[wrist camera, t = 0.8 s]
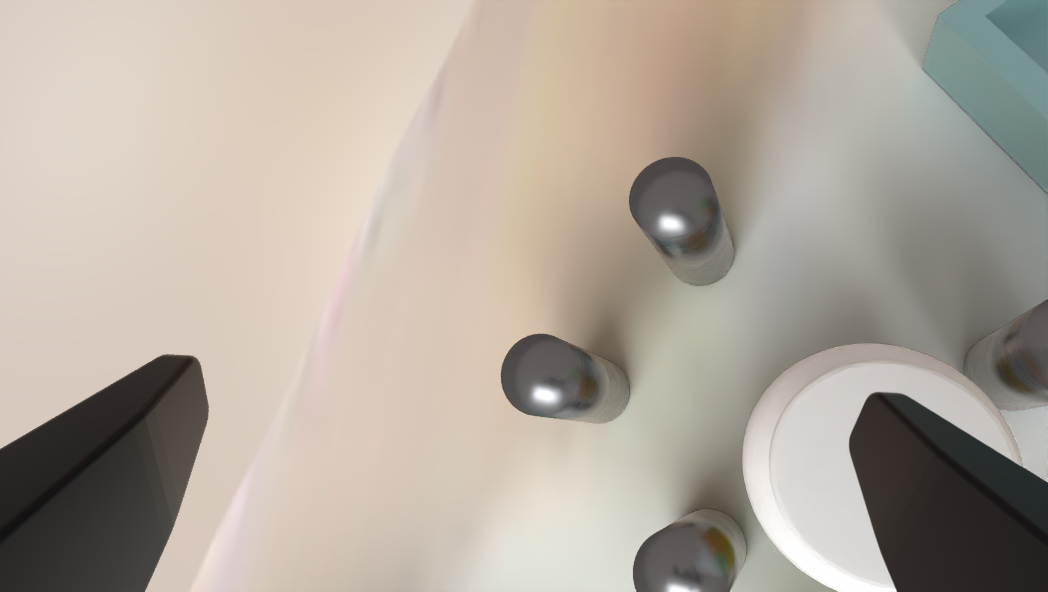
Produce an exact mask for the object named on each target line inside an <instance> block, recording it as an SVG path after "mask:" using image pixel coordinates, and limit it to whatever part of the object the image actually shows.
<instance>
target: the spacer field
mask: <svg viewBox="0 0 1048 592" xmlns="http://www.w3.org/2000/svg"><path fill="white" fill-rule="evenodd" d="M629 205H630V210H631V213H632V216H633V218H634V219H635V221H636V222H637V224H638V225H639V227H640V228H641V229H642V231H643V232H644V233H645V235H646V236H647V237H648V239H649V240H650V241H651V243H652V244H653V245H654V247H655V248H656V250H657V251H658V252H659V254H660V255H661V256H662V258H663V259H664V260H665V262H666V263H667V264H668V266H669V267H670V269H671V270H672V271H673V273H674V274H675V275H676V276H677V277H678V278H679V279H680V280H682V281H683V282H685V283H688V284H691V285H696V286H704V285H709V284H712V283H714V282H716V281H718V280H720V279H721V278H722V277H724V276H725V275H726V273H727V272H728V271H729V269H730V268H731V266H732V263H733V260H734V246H733V243H732V240H731V237H730V234H729V231H728V228H727V225H726V222H725V219H724V217H723V214H722V211H721V208H720V205H719V202H718V199H717V196H716V193H715V190H714V188H713V185H712V182H711V179H710V177H709V175H708V174H707V172H706V171H705V170H704V169H703V168H702V167H701V166H700V165H699V164H697V163H695V162H694V161H691V160H689V159H686V158H680V157H670V158H664V159H661V160H658V161H656V162H654V163H652V164H650V165H649V166H647V167H646V168H645V169H644V170H643V171H642V172H641V173H640V174H639V175H638V176H637V178H636V179H635V181H634V183H633V185H632V187H631V191H630V196H629ZM964 373H965V376H966V377H967V378H968V379H969V380H971V381H972V382H973V383H975V384H976V385H977V386H978V387H979V388H980V389H981V390H982V391H983V392H984V393H985V394H986V395H987V396H988V397H989V398H990V400H991V401H992V402H993V403H994V405H995V406H996V407H997V408H999V409H1004V410H1024V409H1029V408H1035V407H1041V406H1046V405H1048V300H1046V301H1044V302H1042V303H1041V304H1039V305H1038V306H1036V307H1034V308H1033V309H1031V310H1029V311H1028V312H1026V313H1024V314H1023V315H1021V316H1020V317H1018V318H1016V319H1015V320H1013V321H1011V322H1010V323H1008V324H1006V325H1005V326H1003V327H1002V328H1000V329H998V330H997V331H995V332H993V333H992V334H990V335H988V336H987V337H985V338H983V339H982V340H980V341H979V342H977V343H976V344H975V345H974V346H973V347H972V348H971V350H970V351H969V353H968V354H967V357H966V360H965V364H964ZM501 383H502V388H503V391H504V393H505V395H506V397H507V399H508V400H509V402H510V403H511V404H512V405H513V406H514V407H515V408H516V409H518V410H519V411H521V412H523V413H525V414H528V415H533V416H540V417H548V418H556V419H565V420H573V421H581V422H589V423H606V422H609V421H612V420H613V419H615V418H616V417H618V416H619V415H620V414H621V413H622V412H623V410H624V409H625V407H626V405H627V403H628V400H629V395H630V388H629V383H628V380H627V377H626V375H625V373H624V372H623V371H622V370H621V369H620V367H618V366H617V365H616V364H614V363H612V362H610V361H608V360H606V359H603V358H601V357H599V356H597V355H594V354H592V353H590V352H588V351H586V350H583V349H581V348H579V347H577V346H574V345H572V344H570V343H568V342H566V341H563V340H561V339H559V338H557V337H554V336H552V335H548V334H534V335H530V336H527V337H525V338H523V339H521V340H519V341H518V342H517V343H516V344H515V345H514V346H513V347H512V348H511V349H510V350H509V352H508V353H507V355H506V357H505V359H504V362H503V365H502V370H501ZM746 553H747V545H746V540H745V536H744V534H743V532H742V530H741V528H740V527H739V525H738V524H737V523H736V522H735V521H734V520H733V519H732V518H731V517H730V516H728V515H727V514H725V513H723V512H721V511H718V510H714V509H700V510H696V511H694V512H692V513H690V514H688V515H686V516H685V517H683V518H681V519H679V520H678V521H676V522H674V523H672V524H671V525H669V526H667V527H665V528H664V529H662V530H660V531H658V532H657V533H655V534H653V535H652V536H650V537H649V538H648V539H647V540H646V541H645V542H644V543H643V544H642V545H641V547H640V549H639V550H638V552H637V555H636V557H635V561H634V566H633V579H634V585H635V589H636V591H637V592H730V590H731V588H732V586H733V584H734V582H735V580H736V578H737V576H738V574H739V572H740V570H741V568H742V566H743V564H744V562H745V559H746Z"/></svg>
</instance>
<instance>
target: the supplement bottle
mask: <svg viewBox="0 0 1048 592" xmlns="http://www.w3.org/2000/svg"><path fill="white" fill-rule="evenodd" d="M874 392H892V393H902V394H905V395H907V396H908V397H910V398H912V399H913V400H915V401H917V402H918V403H920V404H921V405H923V406H925V407H926V408H928V409H929V410H931V411H933V412H934V413H936V414H938V415H939V416H941V417H942V418H944V419H946V420H947V421H949V422H951V423H952V424H954V425H955V426H957V427H959V428H960V429H962V430H963V431H965V432H967V433H968V434H970V435H972V436H973V437H975V438H976V439H978V440H980V441H981V442H983V443H984V444H986V445H988V446H989V447H991V448H993V449H994V450H996V451H997V452H999V453H1001V454H1002V455H1004V456H1005V457H1007V458H1009V459H1010V460H1012V461H1014V462H1015V463H1017V464H1018V465H1020V466H1022V461H1021V457H1020V453H1019V450H1018V447H1017V444H1016V442H1015V439H1014V437H1013V434H1012V432H1011V430H1010V428H1009V427H1008V425H1007V423H1006V421H1005V419H1004V418H1003V416H1002V415H1001V413H1000V411H999V410H998V409H997V407H996V406H995V405H994V403H993V402H992V401H991V400H990V398H989V397H988V396H987V395H986V394H985V393H984V392H983V391H982V390H981V389H980V388H979V387H978V386H977V385H976V384H975V383H973V382H972V381H971V380H969V379H968V378H967V377H966V376H964V375H963V374H962V373H960V372H959V371H957V370H956V369H954V368H952V367H951V366H949V365H947V364H946V363H944V362H942V361H940V360H938V359H936V358H934V357H931V356H928V355H926V354H923V353H920V352H917V351H914V350H911V349H907V348H903V347H899V346H894V345H887V344H876V343H862V344H851V345H843V346H838V347H834V348H830V349H826V350H824V351H821V352H818V353H815V354H813V355H811V356H809V357H807V358H805V359H803V360H801V361H799V362H797V363H796V364H794V365H792V366H791V367H789V368H788V369H787V370H786V371H784V372H783V373H782V374H781V375H780V376H779V377H777V378H776V379H775V380H774V381H773V382H772V384H771V385H770V386H769V387H768V388H767V389H766V390H765V392H764V393H763V394H762V396H761V398H760V399H759V401H758V402H757V404H756V406H755V408H754V409H753V412H752V414H751V417H750V419H749V422H748V425H747V428H746V432H745V436H744V443H743V453H742V464H743V476H744V481H745V485H746V490H747V493H748V497H749V500H750V502H751V505H752V508H753V510H754V513H755V515H756V517H757V519H758V521H759V522H760V524H761V526H762V528H763V529H764V531H765V532H766V534H767V535H768V536H769V538H770V539H771V540H772V542H773V543H774V544H775V546H776V547H777V548H778V549H779V550H780V551H781V552H782V553H783V554H784V555H785V556H786V557H787V558H788V559H789V560H790V561H791V562H792V563H793V564H794V565H795V566H797V567H798V568H799V569H800V570H801V571H803V572H804V573H806V574H807V575H809V576H810V577H812V578H813V579H815V580H816V581H818V582H820V583H822V584H824V585H826V586H827V587H830V588H832V589H834V590H836V591H838V592H897V591H896V589H895V586H894V584H893V582H892V579H891V577H890V575H889V572H888V570H887V567H886V565H885V562H884V560H883V557H882V555H881V552H880V549H879V546H878V543H877V540H876V538H875V535H874V531H873V528H872V525H871V521H870V518H869V515H868V512H867V508H866V505H865V502H864V499H863V495H862V492H861V489H860V485H859V482H858V479H857V476H856V472H855V469H854V466H853V463H852V459H851V456H850V452H849V438H850V434H851V432H852V430H853V427H854V425H855V423H856V421H857V418H858V416H859V414H860V412H861V409H862V407H863V405H864V403H865V401H866V399H867V397H868V396H869V395H870V394H872V393H874ZM1022 467H1023V466H1022Z"/></svg>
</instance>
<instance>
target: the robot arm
mask: <svg viewBox="0 0 1048 592" xmlns="http://www.w3.org/2000/svg"><path fill="white" fill-rule="evenodd" d="M208 408H209V406H208V400H207V395H206V390H205V384H204V379H203V374H202V369H201V365H200V362H199V361H198V359H197V358H195V357H194V356H189V355H169V354H167V355H162V356H160V357H157V358H156V359H154V360H152V361H151V362H149V363H147V364H146V365H144V366H142V367H140V368H139V369H137V370H135V371H134V372H132V373H130V374H128V375H127V376H125V377H123V378H121V379H120V380H118V381H116V382H115V383H113V384H111V385H109V386H108V387H106V388H104V389H103V390H101V391H99V392H97V393H96V394H94V395H92V396H90V397H89V398H87V399H85V400H84V401H82V402H80V403H78V404H77V405H75V406H74V407H72V408H70V409H68V410H67V411H65V412H63V413H61V414H60V415H58V416H56V417H55V418H53V419H51V420H49V421H48V422H46V423H44V424H42V425H41V426H39V427H37V428H36V429H34V430H32V431H30V432H29V433H27V434H25V435H23V436H22V437H20V438H18V439H17V440H15V441H13V442H11V443H10V444H8V445H6V446H5V447H3V448H1V449H0V592H145V590H146V588H147V586H148V583H149V582H150V579H151V577H152V575H153V573H154V570H155V568H156V566H157V564H158V562H159V559H160V557H161V555H162V553H163V550H164V548H165V546H166V544H167V541H168V539H169V537H170V534H171V532H172V529H173V527H174V524H175V521H176V518H177V516H178V513H179V510H180V506H181V503H182V500H183V497H184V494H185V491H186V488H187V484H188V481H189V478H190V475H191V472H192V468H193V465H194V462H195V459H196V456H197V453H198V450H199V446H200V443H201V440H202V437H203V433H204V431H205V427H206V424H207V420H208V412H209V409H208ZM849 452H850V456H851V459H852V463H853V466H854V469H855V472H856V476H857V479H858V482H859V485H860V489H861V492H862V495H863V499H864V502H865V505H866V508H867V512H868V515H869V518H870V521H871V525H872V528H873V531H874V535H875V538H876V540H877V543H878V546H879V549H880V552H881V555H882V557H883V560H884V562H885V565H886V567H887V570H888V572H889V575H890V577H891V579H892V582H893V584H894V586H895V589H896V591H897V592H1048V482H1046V481H1044V480H1043V479H1041V478H1039V477H1038V476H1036V475H1035V474H1033V473H1031V472H1030V471H1028V470H1027V469H1025V468H1023V467H1022V466H1020V465H1018V464H1017V463H1015V462H1014V461H1012V460H1010V459H1009V458H1007V457H1005V456H1004V455H1002V454H1001V453H999V452H997V451H996V450H994V449H993V448H991V447H989V446H988V445H986V444H984V443H983V442H981V441H980V440H978V439H976V438H975V437H973V436H972V435H970V434H968V433H967V432H965V431H963V430H962V429H960V428H959V427H957V426H955V425H954V424H952V423H951V422H949V421H947V420H946V419H944V418H942V417H941V416H939V415H938V414H936V413H934V412H933V411H931V410H929V409H928V408H926V407H925V406H923V405H921V404H920V403H918V402H917V401H915V400H913V399H912V398H910V397H908V396H907V395H905V394H902V393H892V392H874V393H872V394H870V395H869V396H868V397H867V399H866V401H865V403H864V405H863V407H862V409H861V412H860V414H859V416H858V418H857V421H856V423H855V425H854V427H853V430H852V432H851V434H850V438H849Z"/></svg>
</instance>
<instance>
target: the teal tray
mask: <svg viewBox="0 0 1048 592" xmlns="http://www.w3.org/2000/svg"><path fill="white" fill-rule="evenodd" d="M922 69H923V70H924V71H925V72H926V73H927V74H928V75H929V76H930V77H931V78H932V79H933V80H934V81H935V82H936V83H937V84H938V85H939V86H940V87H941V88H942V89H943V90H944V91H945V92H946V93H947V94H948V95H949V96H950V97H951V98H952V99H953V100H954V101H955V102H956V103H957V104H958V105H959V106H960V107H961V108H962V109H963V110H964V111H965V112H966V113H967V114H968V115H969V116H970V117H971V118H972V119H973V120H974V121H975V122H976V123H977V124H978V125H979V126H980V127H981V128H982V129H983V130H984V131H985V132H986V133H987V134H988V135H989V136H990V137H991V138H992V139H993V140H994V141H995V142H996V143H997V144H998V145H999V146H1000V147H1001V148H1002V149H1003V150H1004V151H1005V152H1006V153H1007V154H1008V155H1009V156H1010V157H1011V158H1012V159H1013V160H1014V161H1015V162H1016V163H1017V164H1018V165H1019V166H1020V167H1021V168H1022V169H1023V170H1024V171H1025V172H1026V173H1027V174H1028V175H1029V176H1030V177H1031V178H1032V179H1033V180H1034V181H1035V182H1036V183H1037V184H1038V185H1039V186H1040V187H1041V188H1042V189H1043V190H1044V191H1045V192H1046V193H1047V194H1048V0H959V1H958V2H956V3H955V4H954V5H952V6H951V7H949V8H948V9H947V10H945V11H944V12H942V13H941V14H939V15H938V17H937V20H936V24H935V27H934V30H933V33H932V36H931V40H930V43H929V46H928V49H927V53H926V56H925V59H924V62H923V65H922Z"/></svg>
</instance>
